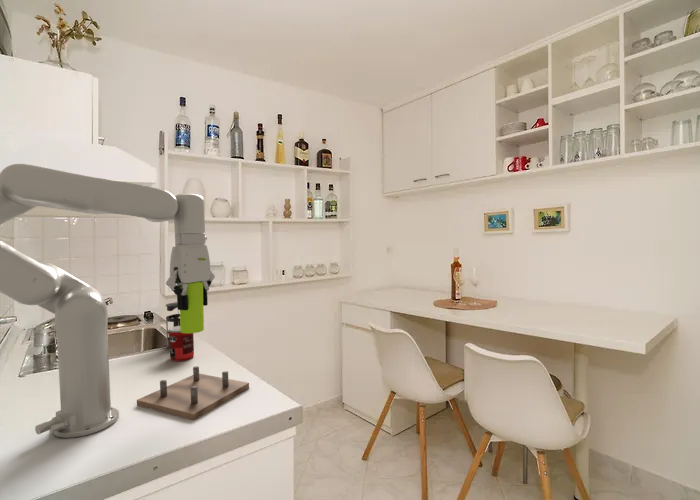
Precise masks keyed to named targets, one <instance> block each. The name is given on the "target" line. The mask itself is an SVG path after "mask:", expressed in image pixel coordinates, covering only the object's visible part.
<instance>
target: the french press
mask: <svg viewBox="0 0 700 500" xmlns="http://www.w3.org/2000/svg"><path fill="white" fill-rule="evenodd" d="M165 307H166V311H167V312H172V311H174V310H176V309H177V313H173V314H171V315H167V316H166V318H165V322H166V323H165V325H166V348H167V349H168V348H169V327H168V326H169V325H168V322H169V323H173V327H176V326H180V310H178V306H177V301H175V302H170V303H166V304H165ZM168 350H170V348H169V349H168Z"/></svg>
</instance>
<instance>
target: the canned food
mask: <svg viewBox="0 0 700 500" xmlns="http://www.w3.org/2000/svg"><path fill="white" fill-rule="evenodd" d="M168 330H169V333H168V337H169V348H170V349H169V358H170V360H171V361H172V362H184V361H189V360H191V359H192V358H194V356H195V342H194V339H195V338H194V333H181V332H180V326H176V327H174V326H172V327H170V328H168Z"/></svg>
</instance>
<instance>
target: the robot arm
mask: <svg viewBox="0 0 700 500" xmlns="http://www.w3.org/2000/svg"><path fill="white" fill-rule="evenodd" d="M36 207H44V208H51V209H57V210H63V211H64V210H65V211H71V212H76V213H77V212H78V213H83V214H91V215H92V214H93V215H102V214H105V215H106V214H107V215H109V214H113V215H123V216H129V217H130V216H131V217H137V218H143V219H145V220H147V221H149V222H152V223H161V222H169V221H170V222H171V221H172V222H173V225H174V226H173V227H174V244H175V245H174V246H172V249H171V251H170V252H171V253H170V259H169V261H170V262H169V278H168V279H167V280H166V282H165V285H166V286H168V288H169V289H171V291H172V292H173V293H174V295H175V296H176V302H177V306H178V308H177V311H178V310H179V311H180V310H188V295H185V294H186V291H187V287H188V284H191V283H195V282H203V307H204V306H205V307H206V306H208V291H209V290H210V286H211V285H212V282H213V281H214V279H215V274H214V273H213V272H212V271H211V262H210V261H211V260H210V255H209V254H210V253H209V249H208V245H207V244H206V241H207V240H208V237H207V236H206V222H205V221H206V220H205V217H206V216H205V200H204V197H203V196H202V195H199V194H197V193H195V194H194V193H180V194H176V195H173V194H172V193H171V192H169V191H168V190H165V189H163V188H162V189H161V188H157V187H151V186H148V185H147V186H146V185H141V184H136V183H131V182H130V183H129V182H125V181H117V180H111V179H106V178H102V177H94V176H89V175H84V174H83V175H82V174H78V173H73V172H67V171H64V170H59V169H52V168H48V167H42V166H38V165H33V164H27V163H14V164H11V165H10V164H9V165H8V166H6V167H5V168H4V169H2V171H0V226H1V225H4V224H5V223H7V222H9V221H11V220H13V219H16V218H17V217H19V216H21V215H24V214H25V213H27V212H29V211H31V210H33V209H35V208H36ZM199 258H206V260H202V261H201V260H199ZM181 286H182V289H181ZM0 294H4V295H5V296H7V297H8V298H10V299H12V300H13V301H16V302H17V303H19V304H21V305H25V306H38V307H39V308H40V307H41V308H42V309H43V310H46V311H48V312H50V313H52V314H54V321H55V322H54V324H55V332H56V333H55V334H56V346H57V363H58V379H59V382H58V383H59V396H60V397H59V398H60V400H59V402H60V410H58V411H57V410H56V411H55V416H54V417H52V418H51V419H50V420H49V421H44V422H42V423H40V424H37V425H35V428H34V430H35V433H36V435H41V434H42V433H45V432H48V431H49V433H51V434H53V435H55V436H56V437H58V438H66V439H67V438H78V437H83V436H88V435H91V434H95V433H97V432H100V431H103V430H104V429H106V428H108V427H110V426H112V425H113V424H114V423H116V421H117V420H118V419H119V416H120V412H119V409H117V408H115V407H112V405H111V404H112V403H111V385H110V384H111V382H110V361H109V336H108V320H109V318H108V317H109V316H108V308H107V307H108V306H107V303H106V299H104V297H103V295H102V294H101V293H100V291H98V289H96V288H95V287H94V286H93V287H92V285H89V284H88V283H85V282H84V281H83V280H81V279H78V278H77V277H75V276H73V275H72V274H71V273H68V272H67V271H66V270H64V269H62V268H60V267H58V266H56V265H54V264H53V263H50V262H47V261H44V260H36V259H33V258H32V257H30V256H28V255H27V254H24V253H23V252H21V251H19V250H17V249H15V248H14V247H13V246H11V245H9V244H8V243H6V242H4V241H2V240H1V239H0Z"/></svg>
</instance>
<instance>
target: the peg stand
mask: <svg viewBox="0 0 700 500" xmlns="http://www.w3.org/2000/svg"><path fill="white" fill-rule="evenodd" d="M167 382H168V381H167V379H162V380H159V389H158V390H155V391H153V392H152V393H149V394H147V395H144V396H142V397H140V398H138V399H136V406H138V407H139V408H140V407H141V408H145V409H148V410H152V411H156V412H160V413H165V414H168V415H172V416H176V417H180V418H183V419H188V420H191V421H195V420H197V419H198V418H201V417H202V416H204V415H205V414H207V413H209V412H211V411H213V410H214V409H215V408H217V407H219V406H220V405H223V404H225V403H226V402H228V401H229V400H231V399H233V398H235V397H236V396H238V395H240V394H241V393H243V392H245V391H247V390H248V389H250V382H247V381H241V380H236V379H232V378H231V379H230V378H229V371H228V370H226V371H222V373H221V377H220V376H214V375H209V374H203V373H200V366H199V365H197V366H193V367H192V375H190V376H187V377H185V378H182V379H181V380H179V381H177V382H174V383H172V384H169V385H167V384H168V383H167Z"/></svg>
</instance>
